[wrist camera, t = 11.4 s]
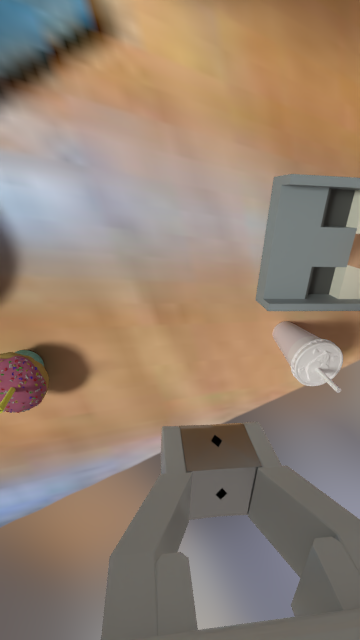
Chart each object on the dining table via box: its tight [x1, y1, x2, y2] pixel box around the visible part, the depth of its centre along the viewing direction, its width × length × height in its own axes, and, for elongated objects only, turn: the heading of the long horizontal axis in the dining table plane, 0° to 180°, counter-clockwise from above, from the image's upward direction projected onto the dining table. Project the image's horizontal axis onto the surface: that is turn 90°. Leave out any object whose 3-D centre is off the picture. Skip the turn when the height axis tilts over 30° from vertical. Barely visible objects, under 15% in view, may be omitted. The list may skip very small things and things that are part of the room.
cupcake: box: [0, 350, 49, 413], centre depth 36 cm, size 9×8×12 cm
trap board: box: [256, 174, 360, 311], centre depth 37 cm, size 16×16×4 cm
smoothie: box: [273, 321, 343, 392], centre depth 38 cm, size 6×6×14 cm
